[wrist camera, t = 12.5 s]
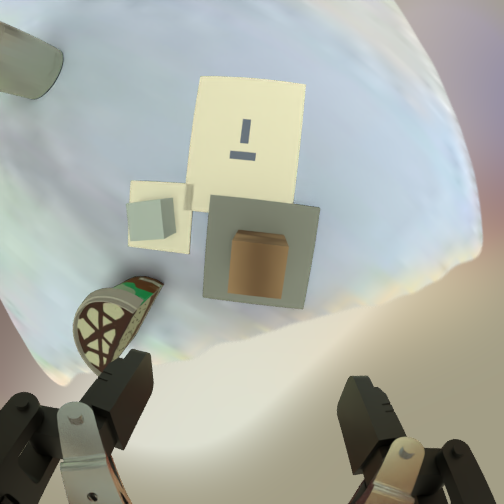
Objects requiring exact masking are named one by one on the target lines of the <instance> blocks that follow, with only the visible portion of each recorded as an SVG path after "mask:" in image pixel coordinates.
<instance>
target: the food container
mask: <svg viewBox="0 0 504 504" xmlns="http://www.w3.org/2000/svg"><path fill="white" fill-rule="evenodd" d="M163 285H164V284H163V283H162V282H160V281H158V280H157V279H153V278H150V277H146V276H137V277H133V278H131V279H129V280H126V281H124V282H123V283H121V284H119V285H117V286H115V287H114V288H103V289H99V290H96V291H94V292H92V293H90V294H89V295H88V296H87V297H86V298H85V300H84V301H83V302H82V304H81V305H80V306H79V308H78V310H77V312H76V314H75V318H74V322H73V336H74V341H75V344H76V347H77V349H78V351H79V353H80V355H81V357H82V359H83V360H84V362H85V363H86V364H87V365H88V367H89V368H90V369H91V370H92V371H93V372H94V373H95V374H96V375H97V376H99V375H100V374H101V373H103V370H104V369H105V368H106V366H107V365H108V364H109V363H110V362H112V361H114V360H115V359H117V358H119V356H120V355H121V354H122V352H123V351H124V350H125V348H126V347H127V346H128V345H129V343H130V342H131V341H132V339H133V338H134V337H135V335H136V334H137V332H138V330H139V329H140V327H141V325H142V323H143V321H144V319H145V317H146V316H147V314H148V312H149V310H150V308H151V306H152V305H153V303H154V301H155V299H156V297H157V296H158V294H159V292H160V290H161V289H162V287H163Z"/></svg>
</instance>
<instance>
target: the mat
mask: <svg viewBox="0 0 504 504" xmlns="http://www.w3.org/2000/svg"><path fill="white" fill-rule="evenodd" d="M319 213H320V208H319V207H312V206H305V205H298V204H290V203H282V202H274V201H266V200H258V199H249V198H240V197H230V196H220V195H210V204H209V215H208V226H207V239H206V252H205V266H204V282H203V297H204V298H211V299H218V300H226V301H233V302H241V303H249V304H258V305H267V306H276V307H285V308H295V309H303V307H304V302H305V297H306V292H307V286H308V281H309V275H310V270H311V264H312V258H313V252H314V246H315V240H316V233H317V227H318V220H319ZM238 230H246V231H255V232H263V233H272V234H280V235H284V236H285V238H286V241H287V243H288V246H289V250H288V256H287V263H286V270H285V277H284V283H283V290H282V296H281V299H275V298H266V297H257V296H248V295H240V294H232V293H228V281H229V270H230V259H231V248H232V240H233V238H234V236H235V235H236V233H237V231H238Z"/></svg>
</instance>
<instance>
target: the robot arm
mask: <svg viewBox="0 0 504 504" xmlns="http://www.w3.org/2000/svg"><path fill="white" fill-rule="evenodd" d="M62 62H63V55H62V52H61V51H60V50H59V49H57V48H55V47H53V46H52V45H50V44H48V43H46V42H44V41H42V40H40V39H38V38H36V37H34V36H32V35H30V34H28V33H26V32H24V31H21V30H19V29H17V28H15V27H13V26H10V25H8V24H6V23H3V22H1V21H0V92H4V93H9V94H13V95H16V96H21V97H25V98H29V99H37V98H39V97H41V96H42V95H43V94H45V93H46V92H47V91H48V90H49V89H50V87H51V86H52V85H53V83H54V82H55V80H56V78H57V76H58V74H59V72H60V70H61V67H62ZM153 383H154V382H153V372H152V363H151V355H150V353H147V352H143V351H139V350H135V349H131V350H130V351H129V353H128V354H127V355H126V357H125V358H124V359H122V358H117V359H115V360H114V361H112V362H110V363H109V364H108V365H107V366H106V368H105V369H104V370H103V373H101V374H100V375H99V376H98V379H96V380H95V382H94V383H93V384H92V386H91V387H90V388H89V389H88V391H87V392H86V393H85V395H84V396H83V397H82V399H81V400H80V401H79V402H69V403H67V404H65V405H63V406H62V407H61V408H60V409H58V408H52V407H47V406H41V405H40V403H39V401H38V399H37V398H36V397H35V396H34V395H33V394H31V393H28V392H21V393H17V394H15V395H14V396H13V397H11V398H10V400H9V401H8V402H7V403H6V404H5V405H4V407H3V408H2V409H1V410H0V504H38V502H39V500H40V498H41V496H42V494H43V492H44V490H45V488H46V486H47V484H48V482H49V480H50V478H51V476H52V474H53V472H54V470H55V468H56V466H57V465H58V463H59V461H60V459H63V460H64V462H61V463H60V470H61V475H62V479H63V483H64V487H65V491H66V495H67V498H68V502H69V504H132V502H131V500H130V498H129V497H128V495H127V493H126V490H125V488H124V486H123V483H122V481H121V479H120V476H119V474H118V471H117V469H116V466H115V463H114V461H113V458H112V456H111V453H112V451H113V449H114V447H115V448H118V449H121V450H124V449H125V447H126V445H127V443H128V441H129V438H130V437H131V434H132V432H133V430H134V428H135V426H136V424H137V422H138V420H139V418H140V416H141V414H142V412H143V410H144V408H145V406H146V404H147V402H148V400H149V398H150V396H151V394H152V390H153ZM337 416H338V419H339V423H340V427H341V430H342V434H343V438H344V442H345V445H346V449H347V453H348V457H349V460H350V465H351V469H352V473H353V475H357V474H363V475H364V480H363V481H362V482H361V484H360V486H359V487H358V489H357V490H356V492H355V494H354V495H353V497H352V499H351V500H350V502H349V503H348V504H448V502H447V499H446V496H445V493H444V491H443V488H442V487H443V486H444V485H445V486H446V489H447V492H448V495H449V497H450V500H451V504H496V502H495V500H494V497H493V495H492V493H491V491H490V488H489V486H488V484H487V482H486V480H485V477H484V475H483V473H482V471H481V469H480V467H479V465H478V463H477V461H476V459H475V457H474V455H473V453H472V452H471V450H470V448H469V446H468V445H467V444H466V443H465V442H463V441H461V440H458V439H453V440H449V441H447V442H446V443H445V445H444V446H443V447H442V448H441V449H439V448H424V447H423V445H422V444H421V443H420V442H419V441H417V440H416V439H414V438H411V437H407V436H406V434H405V432H404V430H403V428H402V425H401V423H400V421H399V419H398V417H397V415H396V413H395V412H394V409H393V407H392V405H390V401H389V399H388V397H387V395H386V394H385V393H384V392H383V391H382V390H381V389H380V388H378V387H374V386H373V384H372V382H371V380H370V378H369V377H368V376H350V377H349V378H348V380H347V382H346V385H345V387H344V390H343V392H342V395H341V397H340V400H339V402H338V406H337ZM28 441H29V442H28ZM26 444H27V445H26ZM24 447H25V448H24ZM22 450H23V451H22ZM21 452H22V453H21ZM19 455H20V456H19Z"/></svg>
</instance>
